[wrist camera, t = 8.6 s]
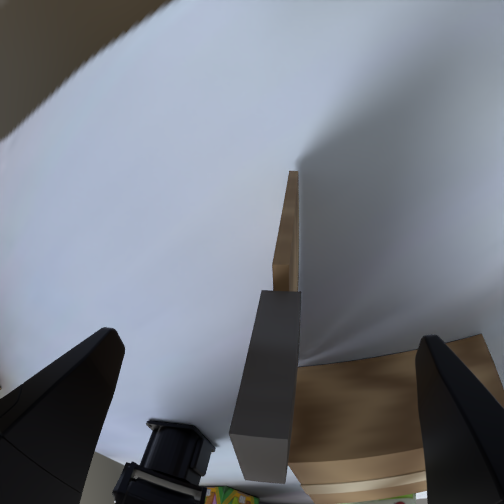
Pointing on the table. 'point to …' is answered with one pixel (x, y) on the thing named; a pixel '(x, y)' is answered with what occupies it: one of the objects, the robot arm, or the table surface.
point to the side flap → (272, 361)
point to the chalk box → (228, 496)
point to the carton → (368, 424)
